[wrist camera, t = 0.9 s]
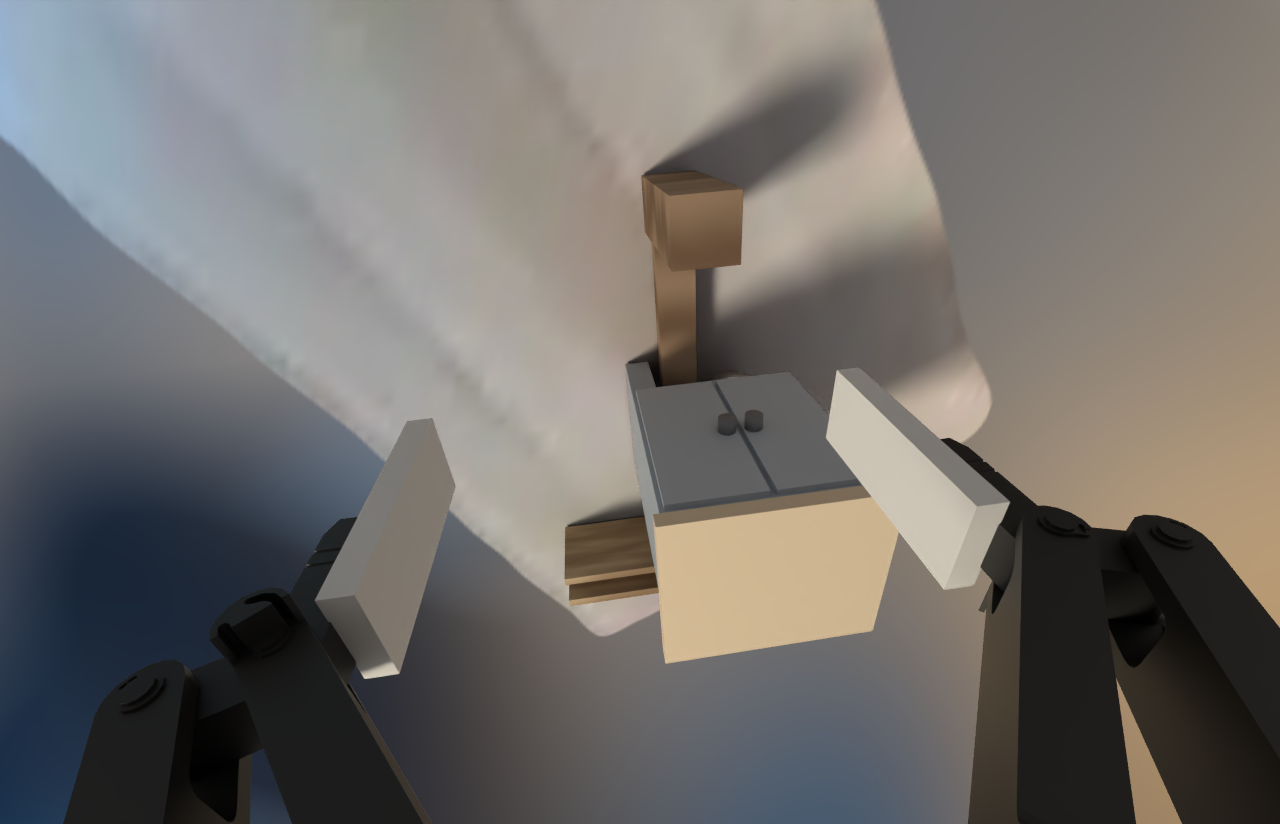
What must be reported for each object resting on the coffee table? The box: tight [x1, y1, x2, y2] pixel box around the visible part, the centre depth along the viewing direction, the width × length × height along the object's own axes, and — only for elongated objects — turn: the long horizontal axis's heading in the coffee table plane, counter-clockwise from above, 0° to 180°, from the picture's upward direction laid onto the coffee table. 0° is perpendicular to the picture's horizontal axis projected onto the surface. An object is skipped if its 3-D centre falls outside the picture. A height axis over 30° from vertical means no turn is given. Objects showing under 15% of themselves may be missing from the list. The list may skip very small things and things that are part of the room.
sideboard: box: [625, 362, 899, 663], centre depth 38 cm, size 13×14×21 cm
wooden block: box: [642, 171, 743, 387], centre depth 36 cm, size 17×4×12 cm, turn 4°
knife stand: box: [565, 516, 659, 606], centre depth 51 cm, size 4×20×7 cm, turn 94°
